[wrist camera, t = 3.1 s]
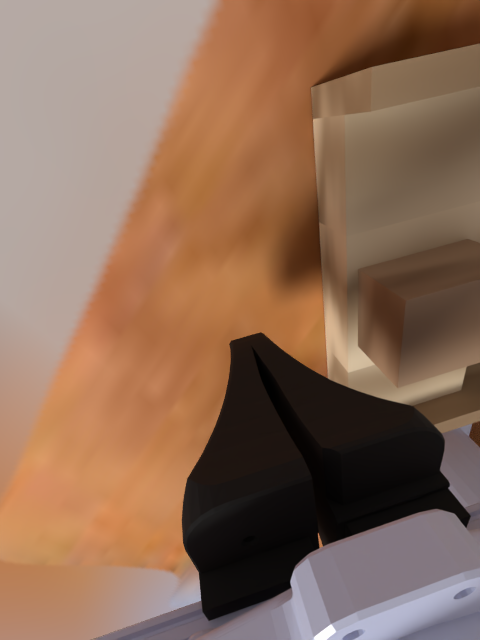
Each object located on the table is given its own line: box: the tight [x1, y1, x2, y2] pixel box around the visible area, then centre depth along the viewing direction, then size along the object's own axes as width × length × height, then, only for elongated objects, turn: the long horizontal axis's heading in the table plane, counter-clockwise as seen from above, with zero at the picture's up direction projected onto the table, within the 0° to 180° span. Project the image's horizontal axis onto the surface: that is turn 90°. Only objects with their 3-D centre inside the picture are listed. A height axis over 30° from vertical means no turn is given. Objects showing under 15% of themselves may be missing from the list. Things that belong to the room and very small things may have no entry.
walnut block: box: [358, 239, 480, 388], centre depth 13 cm, size 4×5×3 cm
